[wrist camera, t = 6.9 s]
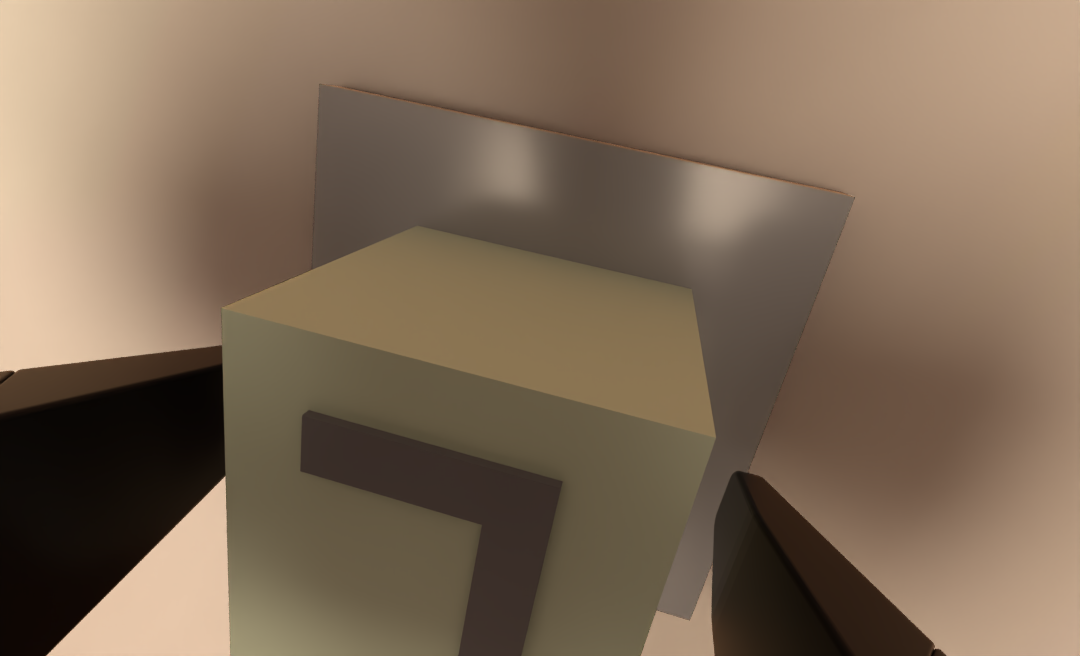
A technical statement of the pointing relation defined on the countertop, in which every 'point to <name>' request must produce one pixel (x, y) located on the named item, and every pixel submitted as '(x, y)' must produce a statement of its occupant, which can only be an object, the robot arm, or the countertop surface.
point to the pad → (599, 245)
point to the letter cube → (458, 453)
